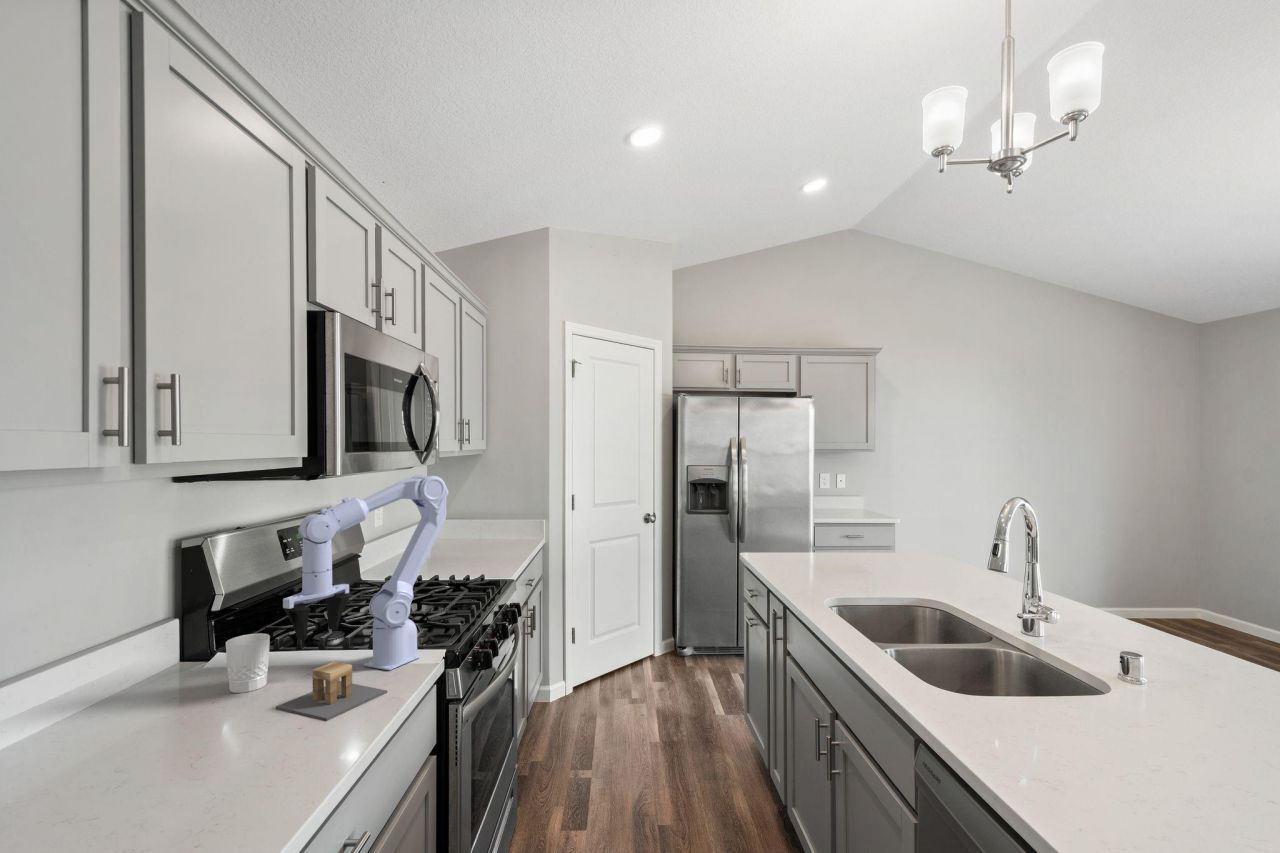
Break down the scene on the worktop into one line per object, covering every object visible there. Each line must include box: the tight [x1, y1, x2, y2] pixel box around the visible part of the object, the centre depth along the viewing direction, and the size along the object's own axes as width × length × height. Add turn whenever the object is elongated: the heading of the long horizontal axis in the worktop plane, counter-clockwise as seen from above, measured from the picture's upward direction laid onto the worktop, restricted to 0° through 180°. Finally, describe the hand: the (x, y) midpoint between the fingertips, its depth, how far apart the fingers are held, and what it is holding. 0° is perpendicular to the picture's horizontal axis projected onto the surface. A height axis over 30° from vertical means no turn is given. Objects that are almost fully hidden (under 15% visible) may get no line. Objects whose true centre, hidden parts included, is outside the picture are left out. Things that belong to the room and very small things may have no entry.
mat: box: [276, 680, 388, 721], centre depth 125 cm, size 14×14×1 cm
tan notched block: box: [312, 661, 353, 705], centre depth 125 cm, size 5×5×6 cm
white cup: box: [225, 633, 271, 694], centre depth 133 cm, size 8×8×10 cm
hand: (317, 634), depth 135 cm, fingers open, 7 cm apart
